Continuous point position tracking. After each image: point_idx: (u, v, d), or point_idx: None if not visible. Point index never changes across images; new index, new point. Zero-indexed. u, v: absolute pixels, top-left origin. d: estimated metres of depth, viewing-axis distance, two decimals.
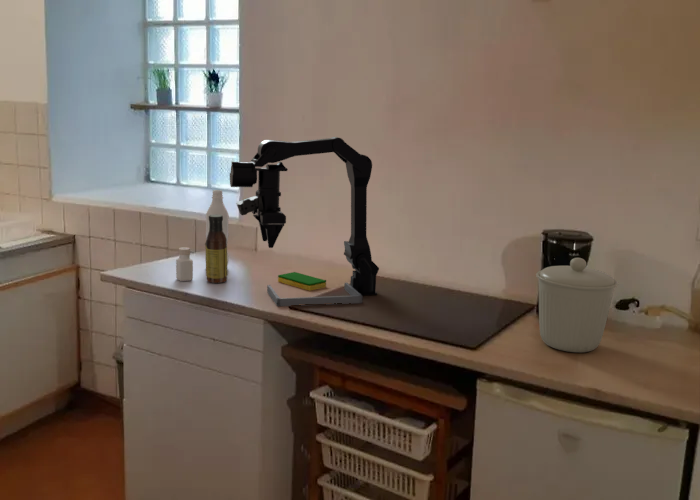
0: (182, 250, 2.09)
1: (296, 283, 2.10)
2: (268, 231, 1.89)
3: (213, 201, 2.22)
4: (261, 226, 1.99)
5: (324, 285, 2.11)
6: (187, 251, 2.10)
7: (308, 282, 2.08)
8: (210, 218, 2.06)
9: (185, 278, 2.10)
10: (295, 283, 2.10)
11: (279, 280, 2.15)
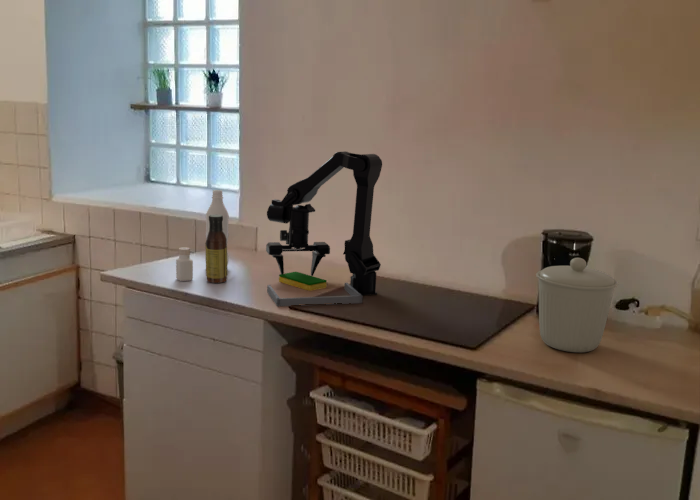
0: (182, 250, 2.09)
1: (296, 283, 2.10)
2: (277, 260, 2.17)
3: (213, 201, 2.22)
4: (312, 261, 2.21)
5: (325, 285, 2.11)
6: (187, 251, 2.09)
7: (308, 282, 2.08)
8: (210, 218, 2.06)
9: (185, 278, 2.10)
10: (295, 283, 2.10)
11: (280, 279, 2.15)
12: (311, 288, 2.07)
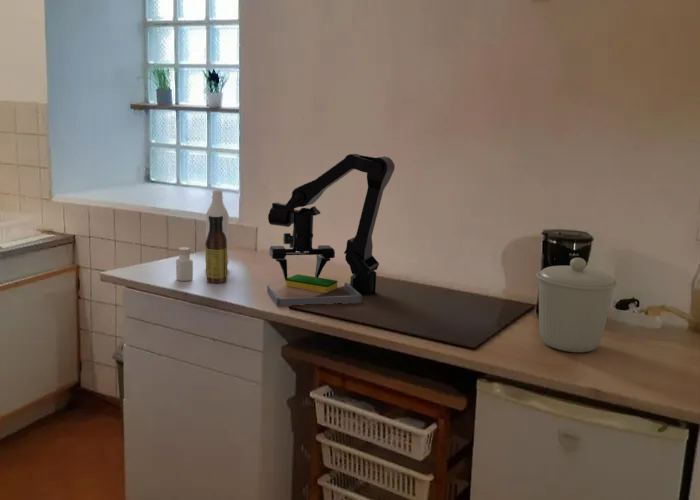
0: (182, 250, 2.09)
1: (309, 285, 2.07)
2: (280, 264, 2.12)
3: (213, 201, 2.22)
4: (316, 265, 2.15)
5: (336, 285, 2.10)
6: (187, 251, 2.09)
7: (323, 283, 2.06)
8: (210, 218, 2.06)
9: (185, 278, 2.10)
10: (308, 285, 2.07)
11: (287, 283, 2.10)
12: (327, 290, 2.06)
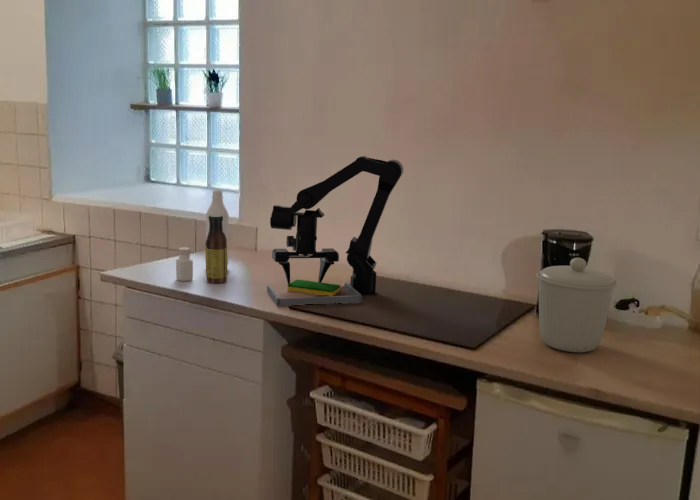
0: (182, 250, 2.09)
1: (313, 291, 2.03)
2: (283, 267, 2.08)
3: (213, 201, 2.22)
4: (320, 269, 2.11)
5: (339, 290, 2.07)
6: (187, 251, 2.10)
7: (328, 288, 2.03)
8: (210, 218, 2.06)
9: (185, 278, 2.10)
10: (312, 291, 2.03)
11: (290, 289, 2.05)
12: (332, 295, 2.02)
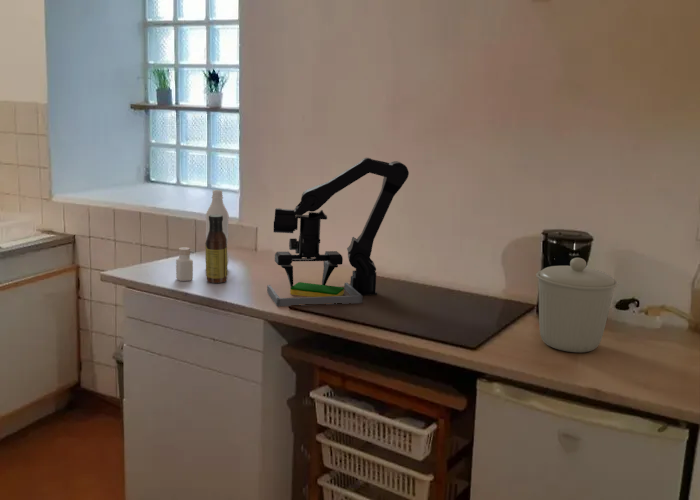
0: (182, 250, 2.09)
1: (318, 294, 1.99)
2: (286, 270, 2.04)
3: (213, 201, 2.22)
4: (323, 272, 2.07)
5: (343, 292, 2.04)
6: (187, 251, 2.09)
7: (332, 291, 1.99)
8: (210, 218, 2.06)
9: (185, 278, 2.10)
10: (316, 294, 2.00)
11: (293, 292, 2.02)
12: None
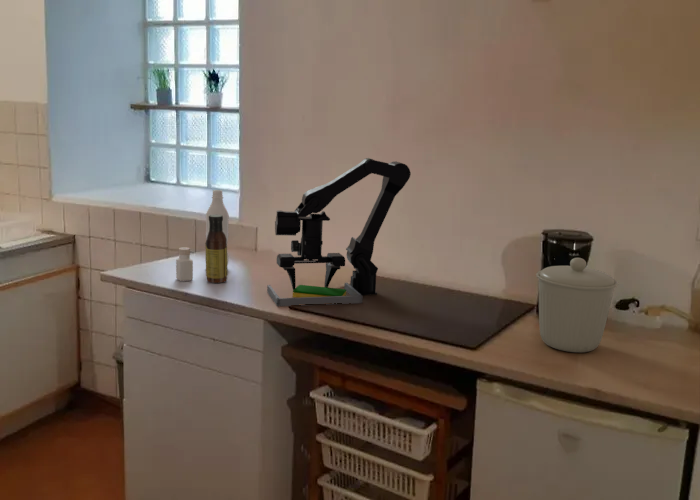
0: (182, 250, 2.09)
1: (321, 296, 1.97)
2: (288, 273, 2.02)
3: (213, 201, 2.22)
4: None
5: (345, 294, 2.02)
6: (187, 251, 2.09)
7: (336, 293, 1.97)
8: (210, 218, 2.06)
9: (185, 278, 2.10)
10: (319, 296, 1.97)
11: (295, 295, 1.99)
12: None
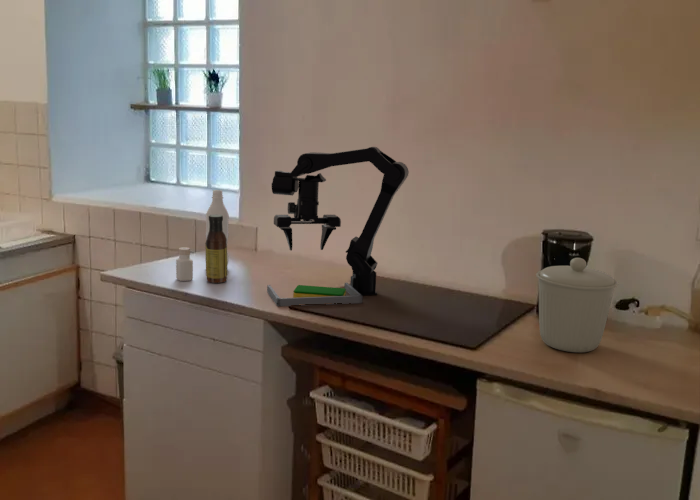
0: (182, 250, 2.09)
1: (322, 296, 1.97)
2: (285, 233, 2.07)
3: (213, 201, 2.22)
4: None
5: (345, 293, 2.03)
6: (187, 251, 2.10)
7: (337, 293, 1.98)
8: (210, 218, 2.06)
9: (185, 278, 2.10)
10: (321, 296, 1.97)
11: (296, 296, 1.98)
12: None
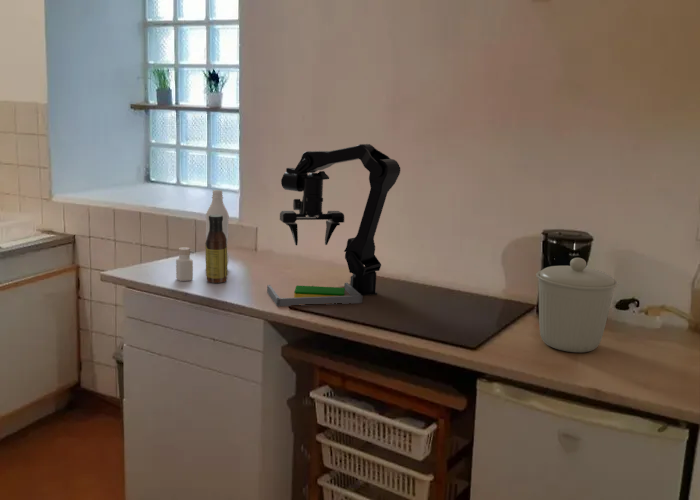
0: (182, 250, 2.09)
1: (324, 296, 1.97)
2: (291, 229, 2.14)
3: (213, 201, 2.22)
4: (326, 230, 2.18)
5: None
6: (187, 251, 2.10)
7: (338, 292, 1.98)
8: (210, 218, 2.06)
9: (185, 278, 2.10)
10: (322, 296, 1.97)
11: (297, 297, 1.98)
12: None
